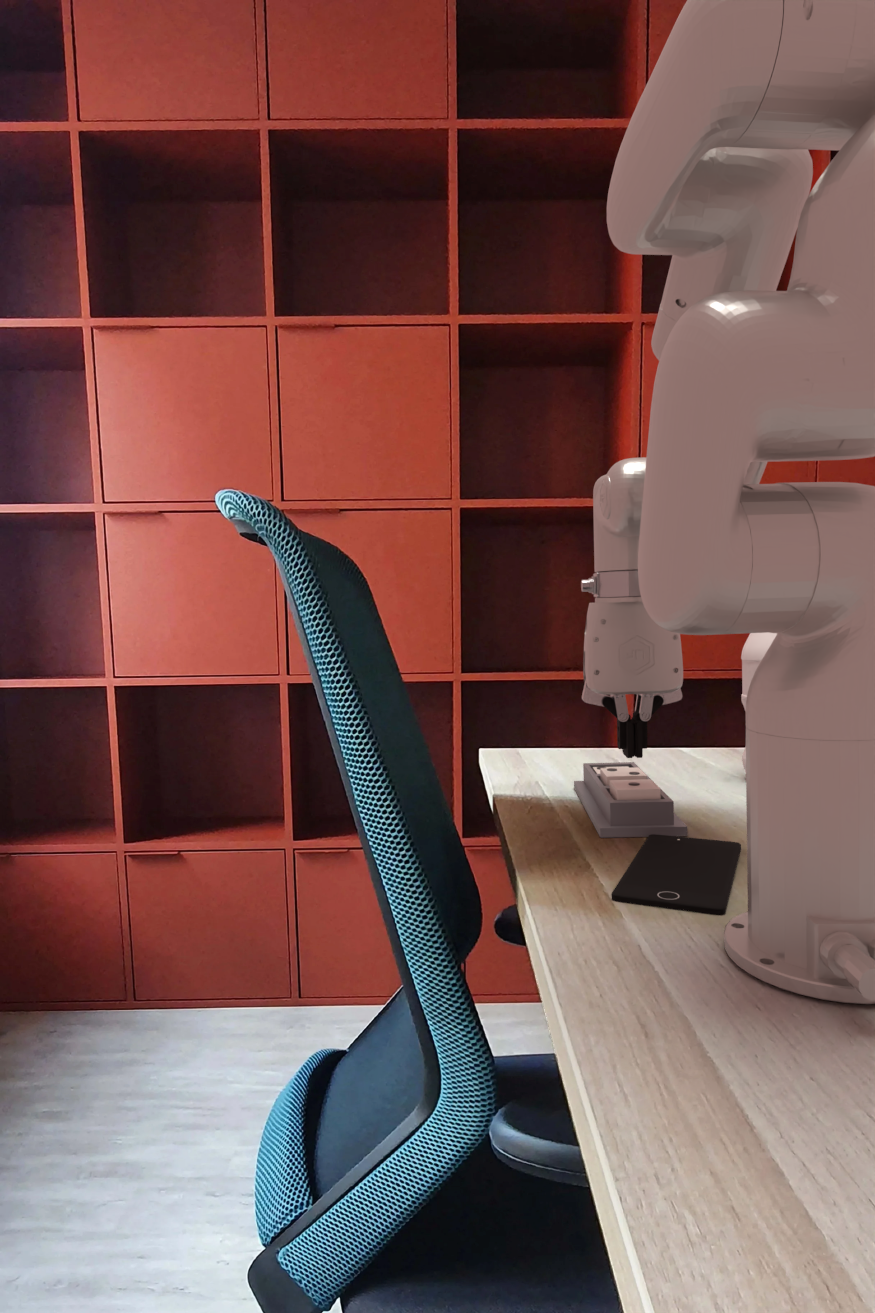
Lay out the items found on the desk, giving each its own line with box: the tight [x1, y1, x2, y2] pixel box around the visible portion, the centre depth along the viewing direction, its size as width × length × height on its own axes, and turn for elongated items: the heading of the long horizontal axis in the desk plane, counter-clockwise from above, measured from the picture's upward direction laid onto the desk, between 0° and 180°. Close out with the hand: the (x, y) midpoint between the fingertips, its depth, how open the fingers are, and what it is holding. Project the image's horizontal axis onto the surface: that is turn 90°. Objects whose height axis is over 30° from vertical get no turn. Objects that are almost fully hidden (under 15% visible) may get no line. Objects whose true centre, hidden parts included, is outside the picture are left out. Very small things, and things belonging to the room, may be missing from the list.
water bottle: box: [740, 632, 777, 772], centre depth 101 cm, size 7×7×25 cm
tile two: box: [600, 766, 648, 786], centre depth 90 cm, size 5×5×2 cm
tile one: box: [610, 778, 661, 800], centre depth 84 cm, size 5×5×2 cm
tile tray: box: [573, 761, 689, 839], centre depth 90 cm, size 22×9×4 cm, turn 177°
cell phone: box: [611, 834, 742, 916], centre depth 69 cm, size 9×18×1 cm, turn 155°
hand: (632, 755), depth 84 cm, fingers closed
